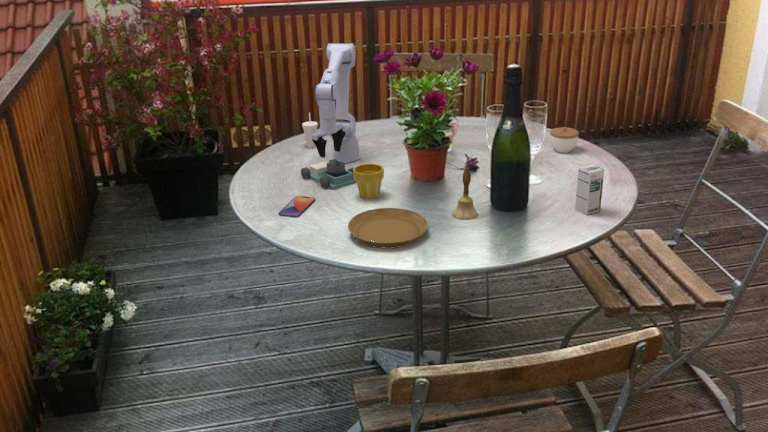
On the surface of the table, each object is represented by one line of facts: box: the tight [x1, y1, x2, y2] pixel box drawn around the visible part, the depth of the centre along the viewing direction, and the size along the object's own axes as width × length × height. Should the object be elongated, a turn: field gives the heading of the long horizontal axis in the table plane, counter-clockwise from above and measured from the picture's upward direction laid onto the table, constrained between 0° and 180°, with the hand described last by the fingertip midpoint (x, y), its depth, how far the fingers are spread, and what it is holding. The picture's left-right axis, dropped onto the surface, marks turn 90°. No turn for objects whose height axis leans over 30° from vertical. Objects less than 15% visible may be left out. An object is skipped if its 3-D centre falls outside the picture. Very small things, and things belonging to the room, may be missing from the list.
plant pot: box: [353, 163, 385, 200], centre depth 245 cm, size 10×10×10 cm
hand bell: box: [451, 166, 479, 220], centre depth 227 cm, size 8×8×16 cm
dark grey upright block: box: [327, 160, 346, 178], centre depth 257 cm, size 4×5×6 cm
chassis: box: [300, 159, 357, 191], centre depth 261 cm, size 14×20×4 cm
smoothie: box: [301, 112, 319, 149], centre depth 292 cm, size 6×6×14 cm
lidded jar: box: [549, 126, 580, 154], centre depth 281 cm, size 11×11×9 cm
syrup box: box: [574, 163, 605, 216], centre depth 228 cm, size 6×6×14 cm
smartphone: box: [277, 195, 316, 218], centre depth 239 cm, size 7×15×1 cm, turn 162°
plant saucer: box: [347, 207, 429, 249], centre depth 219 cm, size 24×24×3 cm
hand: (329, 154), depth 258 cm, fingers open, 7 cm apart
